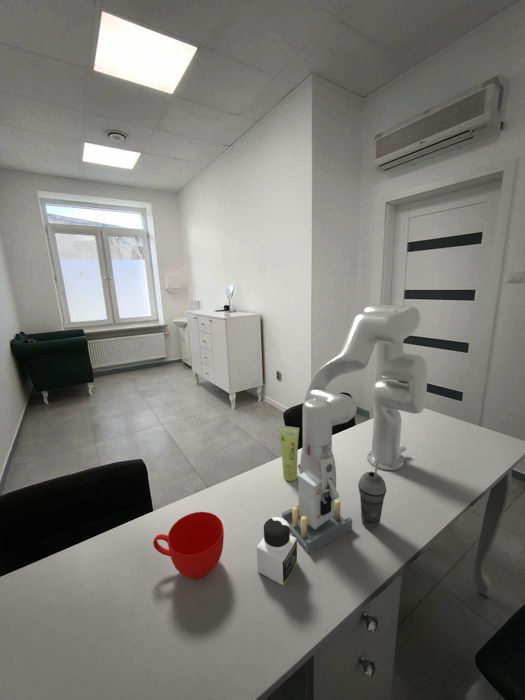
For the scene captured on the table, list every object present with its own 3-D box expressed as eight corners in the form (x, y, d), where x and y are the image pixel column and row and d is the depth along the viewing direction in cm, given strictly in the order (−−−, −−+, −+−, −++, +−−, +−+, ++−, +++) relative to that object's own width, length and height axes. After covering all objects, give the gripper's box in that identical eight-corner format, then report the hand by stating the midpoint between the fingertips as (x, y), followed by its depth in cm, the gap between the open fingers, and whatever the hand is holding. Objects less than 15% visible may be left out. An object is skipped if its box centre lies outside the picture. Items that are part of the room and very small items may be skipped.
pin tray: (323, 502, 93) (323, 483, 91) (351, 529, 82) (352, 508, 81) (282, 522, 85) (281, 502, 84) (308, 554, 75) (308, 531, 74)
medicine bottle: (283, 587, 67) (282, 542, 65) (257, 572, 71) (255, 528, 68) (297, 562, 73) (297, 520, 71) (272, 549, 77) (271, 509, 74)
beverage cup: (364, 509, 89) (367, 449, 85) (388, 523, 84) (392, 458, 80) (351, 523, 84) (354, 459, 80) (377, 538, 79) (380, 471, 75)
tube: (284, 483, 102) (283, 431, 98) (279, 474, 107) (278, 424, 103) (299, 480, 104) (299, 428, 100) (294, 471, 109) (293, 421, 104)
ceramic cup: (166, 544, 80) (162, 511, 77) (229, 544, 79) (227, 511, 77) (146, 593, 67) (140, 555, 65) (221, 593, 66) (218, 555, 64)
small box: (317, 503, 88) (318, 463, 85) (334, 515, 83) (335, 474, 80) (297, 516, 83) (297, 474, 81) (314, 530, 78) (314, 486, 76)
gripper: (352, 457, 73) (349, 519, 77) (307, 429, 88) (307, 482, 92) (328, 466, 70) (327, 532, 73) (286, 435, 84) (287, 491, 88)
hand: (316, 504), depth 82 cm, fingers closed on small box, 6 cm apart
